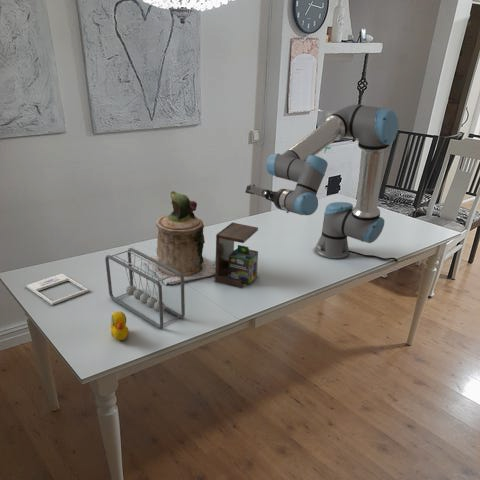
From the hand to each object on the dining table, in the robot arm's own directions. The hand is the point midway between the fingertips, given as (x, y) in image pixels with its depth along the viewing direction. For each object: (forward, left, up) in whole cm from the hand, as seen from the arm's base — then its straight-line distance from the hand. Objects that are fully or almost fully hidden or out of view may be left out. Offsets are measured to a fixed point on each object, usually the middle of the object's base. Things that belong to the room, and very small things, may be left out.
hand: (261, 195), depth 186 cm
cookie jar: (+31, +9, -31) cm, 45 cm away
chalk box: (+5, +15, -31) cm, 34 cm away
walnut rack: (+8, +14, -30) cm, 34 cm away
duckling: (+42, +62, -31) cm, 81 cm away
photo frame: (+74, +34, -30) cm, 87 cm away
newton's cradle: (+38, +43, -31) cm, 65 cm away
